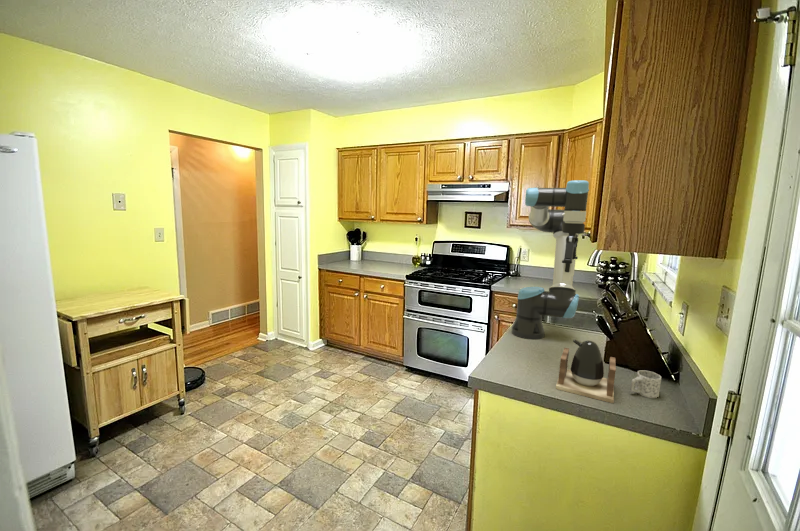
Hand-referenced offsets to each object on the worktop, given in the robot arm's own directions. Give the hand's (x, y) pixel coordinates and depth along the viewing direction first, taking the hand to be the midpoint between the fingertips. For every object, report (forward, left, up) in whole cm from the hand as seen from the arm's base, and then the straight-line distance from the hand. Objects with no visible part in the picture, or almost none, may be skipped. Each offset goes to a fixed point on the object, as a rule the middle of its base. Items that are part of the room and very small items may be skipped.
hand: (568, 277), depth 137 cm
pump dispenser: (+16, +10, -34) cm, 39 cm away
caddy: (+16, +10, -35) cm, 39 cm away
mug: (+11, +27, -35) cm, 46 cm away
